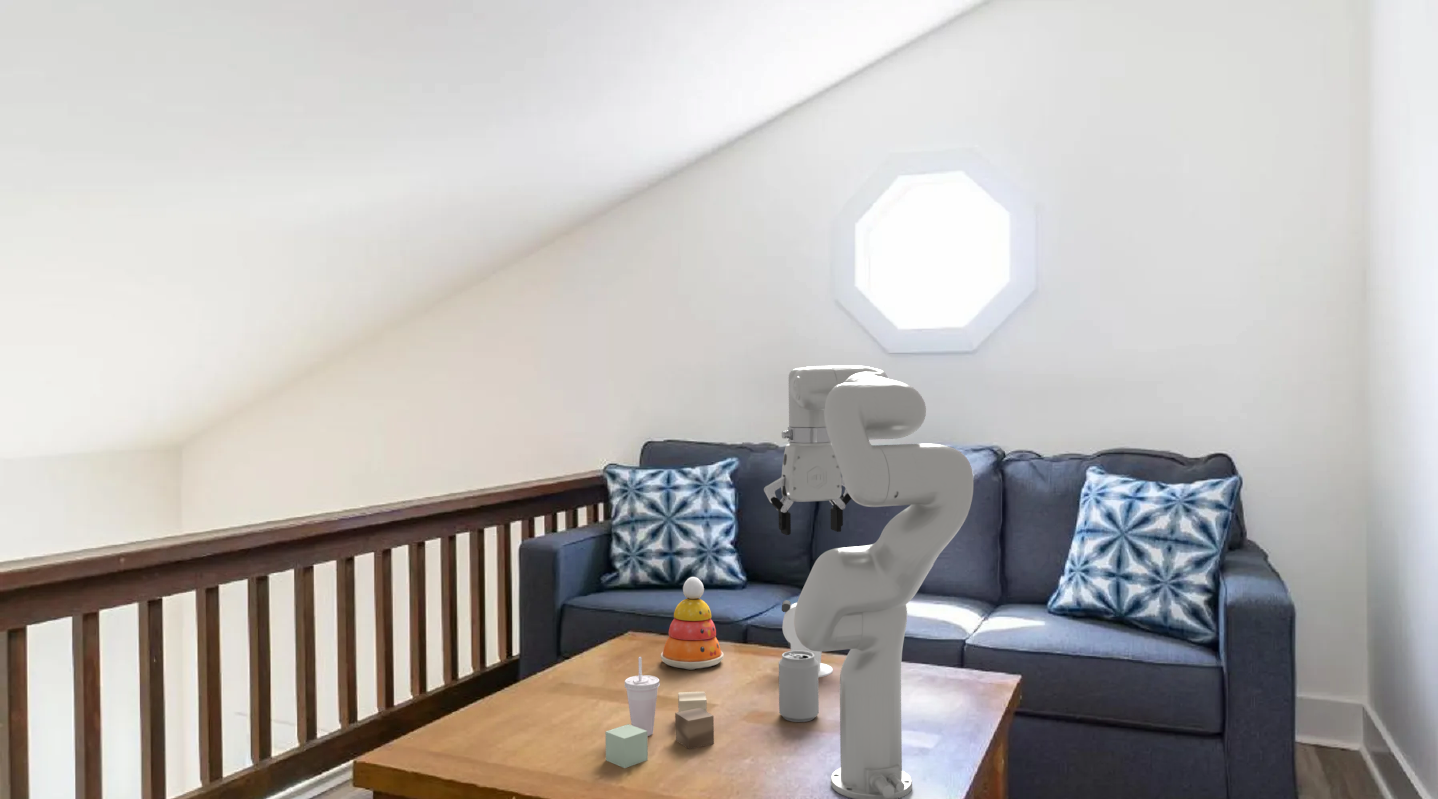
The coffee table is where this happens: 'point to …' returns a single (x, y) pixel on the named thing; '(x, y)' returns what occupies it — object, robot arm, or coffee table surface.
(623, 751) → the sage painted cube
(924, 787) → the coffee table surface
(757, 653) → the coffee table surface
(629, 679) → the smoothie
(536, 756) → the coffee table surface
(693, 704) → the maple cube
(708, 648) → the stacking toy
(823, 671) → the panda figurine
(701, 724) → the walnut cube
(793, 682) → the can
